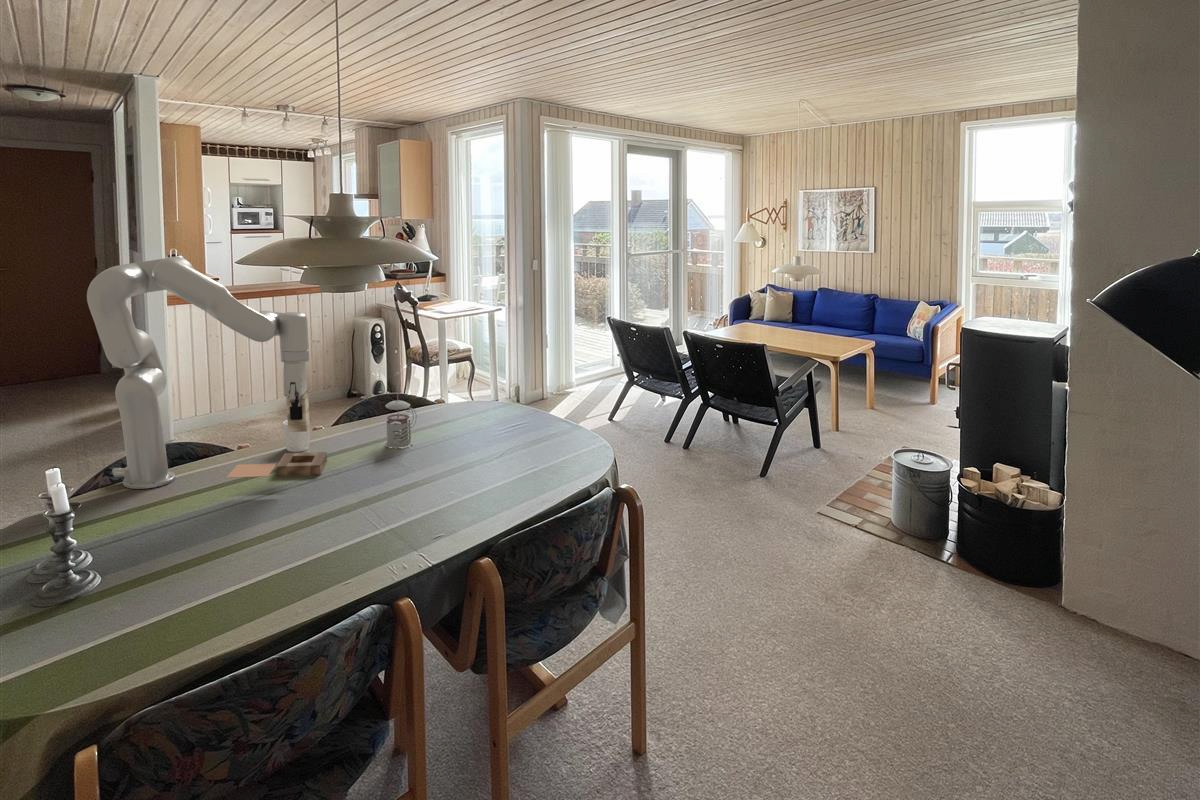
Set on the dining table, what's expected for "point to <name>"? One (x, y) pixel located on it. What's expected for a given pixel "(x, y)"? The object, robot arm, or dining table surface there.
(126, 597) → the dining table surface
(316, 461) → the walnut holder
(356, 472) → the dining table surface
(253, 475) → the terracotta tile
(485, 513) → the dining table surface
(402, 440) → the french press
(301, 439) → the white cup
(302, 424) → the birch peg
